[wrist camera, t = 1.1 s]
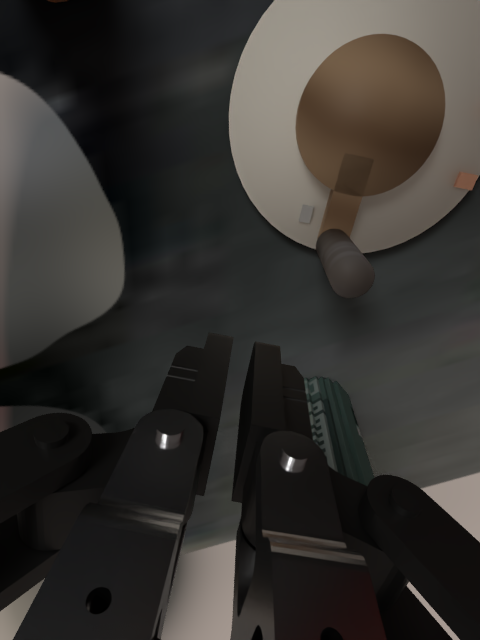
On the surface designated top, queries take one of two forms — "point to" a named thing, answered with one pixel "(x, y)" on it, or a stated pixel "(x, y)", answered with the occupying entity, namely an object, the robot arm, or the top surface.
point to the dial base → (286, 90)
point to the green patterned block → (337, 429)
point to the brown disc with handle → (366, 138)
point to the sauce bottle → (57, 1)
